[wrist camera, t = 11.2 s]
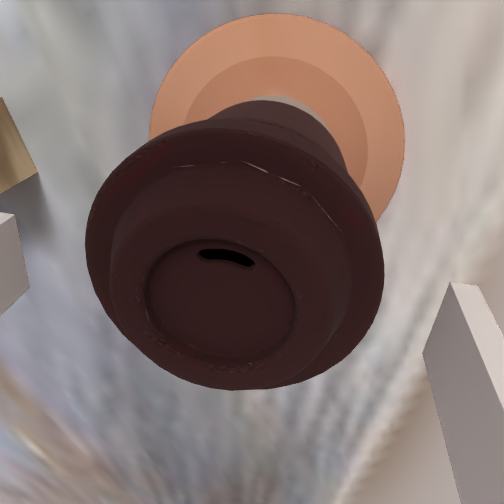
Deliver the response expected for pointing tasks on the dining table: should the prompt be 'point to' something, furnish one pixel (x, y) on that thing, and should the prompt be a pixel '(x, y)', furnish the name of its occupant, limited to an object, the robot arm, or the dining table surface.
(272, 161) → the coffee cup
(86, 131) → the dining table surface
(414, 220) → the dining table surface
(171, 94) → the saucer
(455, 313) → the robot arm
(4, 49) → the dining table surface
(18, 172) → the tan cube
